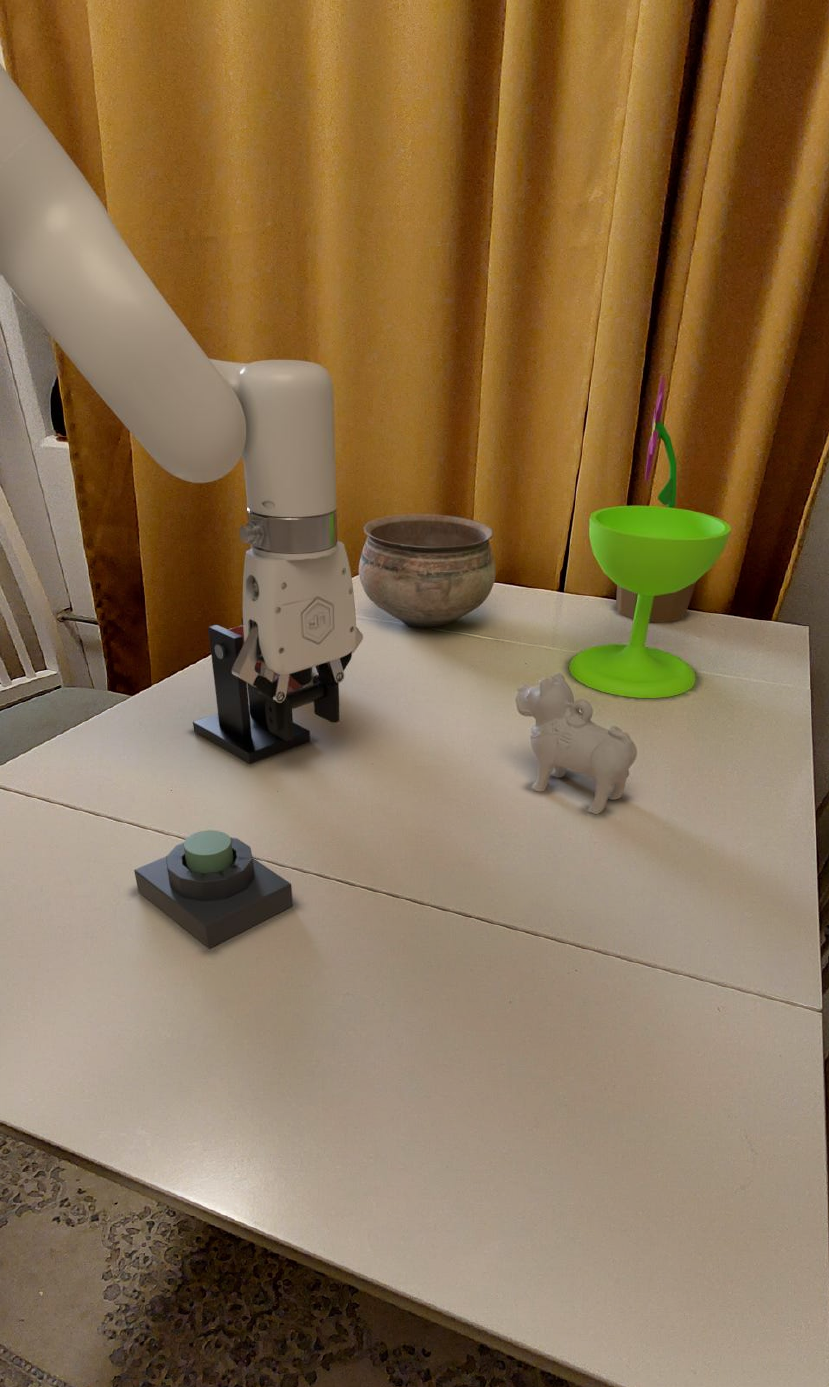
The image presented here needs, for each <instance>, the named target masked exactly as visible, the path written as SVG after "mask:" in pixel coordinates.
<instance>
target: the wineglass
mask: <svg viewBox="0 0 829 1387" xmlns="http://www.w3.org/2000/svg"><path fill="white" fill-rule="evenodd" d="M588 525H589V527H588V529H589V532H588V538H589V541H590V546H591V550H592V554H593V556H594V558H595V560H596V561H597V563H598V565H599V567H600V568H601V570H602V572H603V574H604V575H606V576H607V578H608V579H610V580H611V581H612V582H613V583H614V584H615V585H616V586H617V585H618V586H620V587H622V588H624V589H626V590H629V591H631V592H633V593H636V594H638V597H637V603H636V609H635V614H634V619H632V626H631V631H630V637H629V642H628V644H626V643H625V644H621V643H614V644H602V645H597V646H592V647H589V648H586V649H584V650H582V651H581V650H580V651H579V652H578V653H577V654H575V656H574V657H573V658H571V660H570V662H569V666H568V672H569V673H570V675H571V677H573V678H574V679H575V680H576V681H578V682H579V683H581V684H583V685H585V686H586V687H588V688H591V689H593V690H597V691H599V692H603V693H607V694H611V695H615V696H620V697H628V698H636V699H659V698H660V699H661V698H670V697H674V696H677V695H682V694H684V693H686V692H688V691H691V689H693V687H694V686H695V685H696V673H695V671H694V670H693V668H692V667H691V666H690V664H689V663H688V662H686V661H685V660H684V659H682V658H681V657H679V656H676V655H674V654H673V653H670V652H667V651H664V650H661V649H658V648H653V647H649V646H646V640H647V634H648V629H649V623H650V622H649V619H650V614H651V608H652V603H653V598H654V596H657V595H663V594H668V593H674V592H677V591H680V590H681V589H683V588H685V587H687V586H689V585H691V584H693V583H695V582H696V581H697V582H698V581H699V579H701V578H702V577H703V576H704V575H705V574H706V573H707V572H709V570H710V569H711V568H713V566H715V564H716V562H717V561H718V559H719V557H720V556H721V555H722V553H723V552H724V550H725V548H726V545H727V542H728V541H729V540H728V539H729V537H730V534H731V531H732V527H731V525H730V524H729V523H728V522H726V521H725V520H723V519H721V518H719V517H716V516H714V515H711V514H707V513H703V512H698V511H694V510H689V509H685V508H683V509H682V508H676V507H674V508H669V507H667V506H658V505H657V506H656V505H618V506H610V507H605V508H600V509H597V510H595V511H594V512H591V513H590V516H589V524H588ZM697 582H696V583H697Z"/></svg>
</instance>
